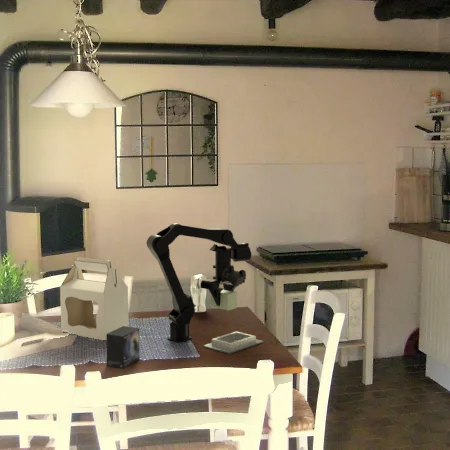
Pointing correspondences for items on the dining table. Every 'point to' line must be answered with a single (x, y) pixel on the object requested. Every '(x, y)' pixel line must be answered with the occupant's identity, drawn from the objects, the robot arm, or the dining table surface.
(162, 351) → the dining table surface
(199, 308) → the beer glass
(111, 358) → the small box
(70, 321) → the gable box
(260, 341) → the collar
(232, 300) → the green block
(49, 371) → the dining table surface
